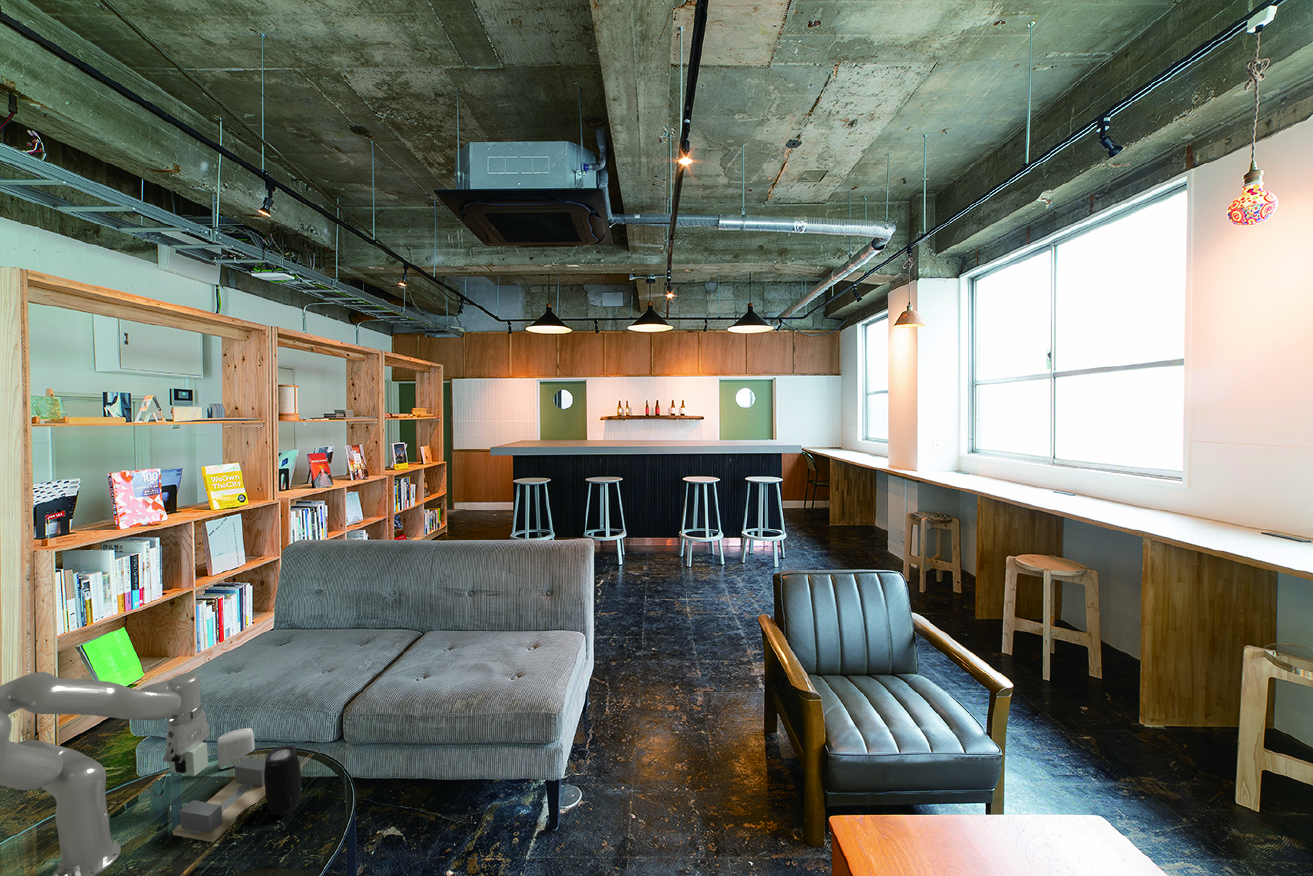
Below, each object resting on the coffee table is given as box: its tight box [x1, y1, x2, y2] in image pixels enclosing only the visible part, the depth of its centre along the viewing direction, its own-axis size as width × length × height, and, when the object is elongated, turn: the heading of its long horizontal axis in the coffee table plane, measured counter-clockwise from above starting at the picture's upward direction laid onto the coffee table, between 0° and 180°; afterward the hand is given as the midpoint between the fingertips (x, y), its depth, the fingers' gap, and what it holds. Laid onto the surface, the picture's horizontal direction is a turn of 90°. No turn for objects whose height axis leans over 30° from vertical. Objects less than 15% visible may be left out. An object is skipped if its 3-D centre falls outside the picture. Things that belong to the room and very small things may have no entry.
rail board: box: [172, 758, 266, 843], centre depth 172 cm, size 24×14×8 cm, turn 171°
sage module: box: [169, 742, 209, 777], centre depth 172 cm, size 4×9×8 cm, turn 81°
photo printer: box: [216, 727, 256, 768], centre depth 189 cm, size 10×4×12 cm, turn 124°
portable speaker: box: [264, 745, 302, 817], centre depth 170 cm, size 9×9×20 cm
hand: (189, 765), depth 173 cm, fingers closed on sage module, 4 cm apart
